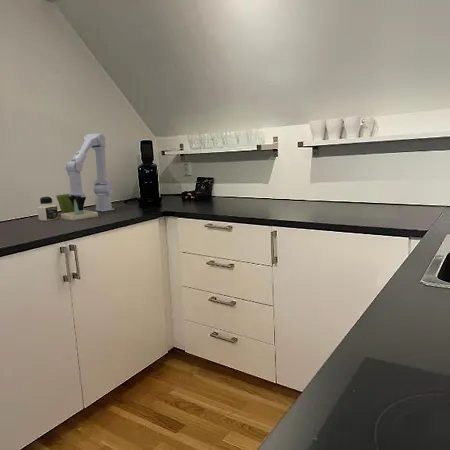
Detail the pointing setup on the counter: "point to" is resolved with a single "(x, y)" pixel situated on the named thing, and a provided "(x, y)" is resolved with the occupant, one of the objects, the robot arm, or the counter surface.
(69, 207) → the plant pot
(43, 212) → the medicine bottle
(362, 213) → the counter surface
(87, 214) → the cream tray
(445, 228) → the counter surface
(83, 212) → the pale teal cylinder
